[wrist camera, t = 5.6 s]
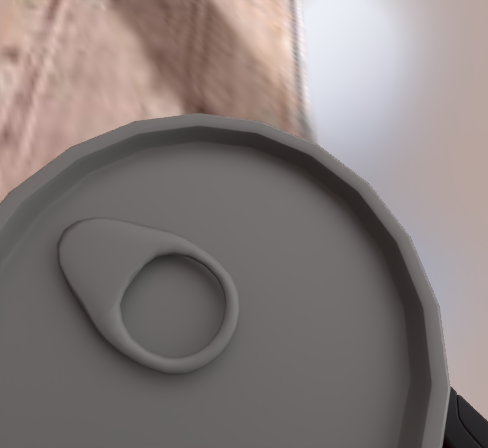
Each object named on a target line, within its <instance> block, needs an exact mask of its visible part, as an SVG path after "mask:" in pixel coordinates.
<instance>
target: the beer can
mask: <svg viewBox="0 0 488 448" xmlns="http://www.w3.org/2000/svg"><path fill="white" fill-rule="evenodd" d="M450 389H451V388H450V381H449V373H448V367H447V359H446V351H445V344H444V336H443V329H442V321H441V314H440V306H439V304H438V302H437V299H436V297H435V294H434V292H433V290H432V287H431V285H430V282H429V280H428V278H427V275H426V273H425V270H424V268H423V266H422V264H421V261H420V259H419V256H418V254H417V252H416V249H415V247H414V244H413V242H412V240H411V237H410V236H409V235H408V233H407V232H406V231H405V229H404V228H403V227H402V226H401V224H400V223H399V222H398V220H397V219H396V218H395V217H394V215H393V214H392V213H391V211H390V210H389V209H388V208H387V206H386V205H385V204H384V202H383V201H382V200H381V199H380V197H379V196H378V195H377V193H376V192H375V191H374V190H373V188H372V187H371V186H370V185H369V183H368V182H366V181H365V180H364V179H362V178H361V177H360V176H358V175H357V174H356V173H354V172H353V171H352V170H350V169H349V168H348V167H347V166H345V165H344V164H342V163H341V162H340V161H339V160H337V159H336V158H335V157H333V156H332V155H331V154H329V153H328V152H327V151H325V150H324V149H323V148H321V147H320V146H319V145H317V144H315V143H313V142H310V141H308V140H305V139H303V138H300V137H298V136H295V135H293V134H291V133H288V132H286V131H283V130H281V129H278V128H276V127H273V126H271V125H269V124H266V123H264V122H261V121H255V120H248V119H240V118H232V117H224V116H217V115H209V114H201V113H196V114H188V115H181V116H173V117H165V118H157V119H150V120H142V121H134V122H132V123H129V124H127V125H124V126H122V127H119V128H117V129H115V130H112V131H110V132H107V133H105V134H102V135H100V136H97V137H95V138H92V139H90V140H87V141H85V142H82V143H80V144H77V145H75V146H72V147H70V148H69V149H67V150H66V151H65V152H63V153H62V154H61V155H59V156H58V157H57V158H55V159H54V160H53V161H51V162H50V163H48V164H47V165H46V166H44V167H43V168H42V169H40V170H39V171H38V172H36V173H35V174H34V175H32V176H31V177H30V178H28V179H27V180H26V181H24V182H23V183H21V184H20V185H19V186H17V187H16V188H15V189H13V190H12V191H11V192H9V193H8V195H7V196H6V197H5V198H4V200H3V201H2V202H1V203H0V448H442V445H443V438H444V431H445V424H446V417H447V410H448V403H449V396H450Z"/></svg>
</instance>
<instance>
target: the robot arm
mask: <svg viewBox="0 0 488 448" xmlns="http://www.w3.org/2000/svg"><path fill="white" fill-rule="evenodd" d="M450 388H451V389H450V396H449V403H448V410H447V417H446V424H445V431H444V438H443V445H442V448H488V421H487V420H486V419H485V418H484V417H483V416H482V415H480V414H479V413H478V412H477V411H476V410H475V409H474V408H473V407H472V406H471V405H470V404H469V403H468V402H467V401H466V400H465V399H463V397H461V396H460V395H457V393H456V391H455V390H454V389H453V388H452V387H451V386H450Z"/></svg>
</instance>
